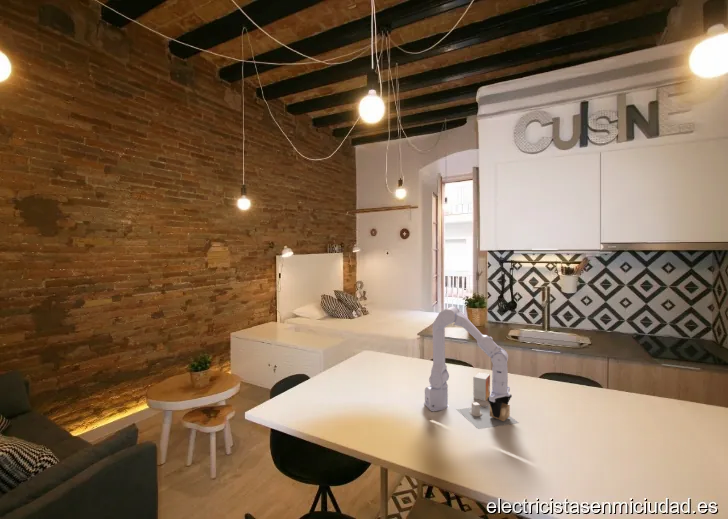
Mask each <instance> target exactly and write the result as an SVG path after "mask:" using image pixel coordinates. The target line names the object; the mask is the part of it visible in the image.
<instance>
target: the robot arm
mask: <svg viewBox="0 0 728 519" xmlns="http://www.w3.org/2000/svg"><path fill="white" fill-rule="evenodd" d="M453 323H454V324H453ZM452 324H453V326H457V327H462V328H463V329H464V330H465V331H467V332H468V334H469V335H470V336H472V337H473V338H474V339H475V340H476V345H477V346H478V347H479V348H480V349H481V351H482V352H484V354H486V355H487V357H488V358H491V359H490V361H491V363H492V368H491V371H492V372H491V373H492V374H491V375H492V376H491V390H490V396H489V397H488V398H487V402H488V403H489V405H490V406H491V409H492V413H493V416H494V417H497V418H499V416H500V410H501V406H502V404H503V403H504V404H507V405H509V402H510V401H511V398H512V394H511V393H510V390H511V388H510V386H508V383H509V382H508V380H509V379H508V378H509V376H508V375H509V372H508V360H509V353H508V351H507V350H505V349H504V348H502V347H501V346H499V345H498V344H497V343H496V342H495V341H494V340H493V337H492V336H489V335H487V334H483V333H482V332H481V331H480V330H479V329H478V328H477V327H476V326H475V325H474V323H472V322H471V320H470V319H469V318H468V317H467V316H466V315H465V314H464V313H463V311H461V310H460V309H459V308H458V307H457V306H453V305H452V306H449V307H447V308H445V309H442V310H441V311H440V312H439V313H438V314H437V316H436V318H435V320H434V321H433V323H432V367H431V370H430V376H429V379H428V381H429V386H427V387H425V388H424V402H423V404H424V406H426V407H427V409H428V410H430V412H438V411H443V410H445V409H447V408H448V407H450V405H449V404H448V397H449V396H448V395H449V394H448V390H449V389H448V387H449V385H448V383H447V381H448V380H449V378H450V374H449V371H448V368H447V367H448V366H447V364H446V336H445V335H446V333H445V332H446V330H445V329H446V327H448V326H449V325H452Z"/></svg>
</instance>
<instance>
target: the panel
mask: <svg viewBox="0 0 728 519" xmlns="http://www.w3.org/2000/svg"><path fill="white" fill-rule="evenodd" d="M456 411H457V412H459V413H460V414H461V415H462V416H463V417H464V418H466V419H467V420H468V421H469V422H470V423H471V424H472V425H473V426H474V427H475V428H477V429H478V430H480V429H481V430H482V429H486V428H494V427H499V426H500V427H501V426H502V427H503V426H507V425H515V424H520V421H517V420H516V419H514V418H513V417H512V416H510V417H508V418H507V419H506V420H505V421H502V420H499V419H496V418H493V417H491V416H490V404H488V405H481V404H480V403H479V402H477V401H475V402H471V407H466V408H458V409H456Z"/></svg>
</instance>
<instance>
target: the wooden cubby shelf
mask: <svg viewBox="0 0 728 519" xmlns="http://www.w3.org/2000/svg"><path fill="white" fill-rule="evenodd" d="M510 407H511V406H510V405H509V404H508V405H507V404H504V403H503V404H502V406H501V410H500V416H499V418H497V417H494V416H493V413H492V409H491V406H490V416H491V417H493V418H496V419H499V420H502V421H505V420H506V419H507V418H508V417H511V416H510V414H511V413H510V412H511V411H510V410H511V408H510Z"/></svg>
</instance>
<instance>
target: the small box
mask: <svg viewBox="0 0 728 519" xmlns="http://www.w3.org/2000/svg"><path fill="white" fill-rule="evenodd" d="M472 384H473V385H472V386H473V392H472V393H473V399H475V400H480V401H484V402H486V401H488V397H489V396H490V395H491V374H489V373H485V372H479V371H478V372H477V373H476V374H475V375H474V376H473V383H472Z"/></svg>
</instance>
